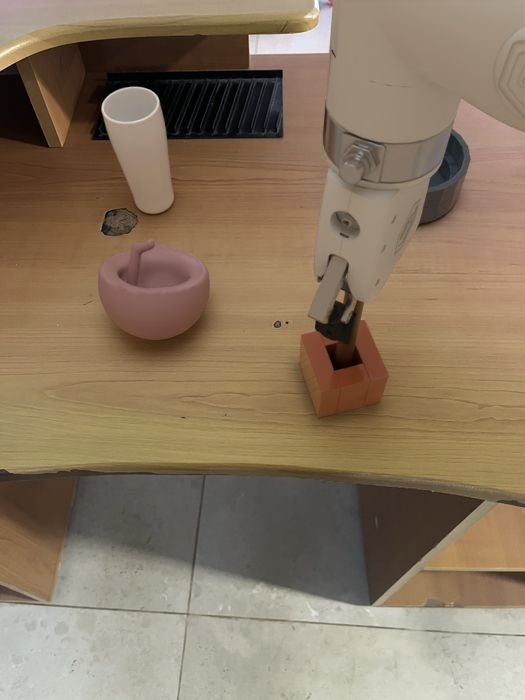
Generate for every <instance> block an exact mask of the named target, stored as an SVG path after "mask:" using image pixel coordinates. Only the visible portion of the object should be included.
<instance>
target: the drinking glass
mask: <svg viewBox="0 0 525 700" xmlns="http://www.w3.org/2000/svg"><path fill="white" fill-rule="evenodd" d="M101 113H102V119H103V121H104V125H105V130H106V132H107V136H108V138H109V141H110V144H111V146H112V149H113V151H114V154H115V156H116V159H117V161H118V163H119V166H120V168H121V171H122V173H123V175H124V177H125V180H126V182H127V184H128V187H129V190H130V192H131V194H132V198H133V201H134V204H135V206H136V208H137V209H138V210H139V211H141V212H143V213H145V214H149V215H157V214H161V213H163V212H165V211H167V210H168V209H169V208H170V207H171V206H172V205H173V204H174V201H175V193H174V188H173V183H172V174H171V163H170V153H169V144H168V137H167V136H168V135H167V128H166V122H165V117H164V114H163V110H162V106H161V102H160V99H159V96H158V95H157V94H156V93H155V92H154V91H152V90H151V89H148V88H145V87H142V86H129V87H123V88H119V89H117V90H115V91H113V92H111V93H110V94H108V95H107V96H106V98H105V99H104V100H103V102H102V104H101Z"/></svg>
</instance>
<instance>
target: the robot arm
mask: <svg viewBox="0 0 525 700" xmlns="http://www.w3.org/2000/svg"><path fill="white" fill-rule="evenodd" d="M331 10H332V11H331V19H330V20H331V23H330V32H329V33H330V34H329V35H330V36H329V49H328V60H327V76H326V87H325V101H324V113H323V128H322V140H321V151H322V155H323V158H324V161H325V162H326V164H327V165H328V169H327V172H326V176H325V177H326V178H325V182H324V187H323V192H322V198H321V203H320V209H319V214H318V220H317V226H316V233H315V242H314V250H313V275H314V278H315V280H316V282H317V283H319V286H318V288H317V290H316V293H315V296H314V298H313V300H312V303H311V304H310V307H309V309H308V312H307V318H310V319H311V320H314V329H315V331H318V332H320V333H321V334H322V335H323V336H324V337H326V338H328V339H330V340H332V341H340V342H342V343H344V344H349V343H350V341H351V340H352V336H353V331H354V326H355V321H356V317H357V314H356V313H355V312H354V308H355V305H356V303H357V300H359V301H361V302H364V304H368V303H370V302H373V301H374V300H375V299H376V298H377V297H378V295H380V293H381V292H382V290H383V288H384V287H385V285H386V283H387V281H388V280H389V278H390V277H391V275H392V273H393V271H394V270H395V268H396V267H397V265H398V263H399V261H400V260H401V258H402V256H403V254H404V253H405V251H406V249H407V247H408V245H409V244H410V242H411V241H412V238H413V236H414V235H415V233H416V231H417V228H418V226H419V225H420V224H419V221H420V218H421V214H422V210H423V206H424V202H425V198H426V193H427V189H428V185H429V181H430V177H431V176H432V175H434V174H435V173H436V172H437V170H438V169H439V167H440V166H441V163H442V160H443V157H444V154H445V151H446V147H447V144H448V141H449V137H450V134H451V131H452V129H453V127H454V124H455V122H456V121H455V120H456V118H457V113H458V110H459V106H460V103H461V100H462V101H464V102H466V103H468V104H469V105H471V106H473V107H474V108H476V109H477V110H479V111H480V112H482V113H484V114H486V115H487V116H489V117H490V118H492V119H494V120H496V121H498V122H500V123H502V124H504V125H506V126H507V127H510V128H513V129H515V130H517V131H520V132H521V133H525V0H332V7H331ZM340 291H343V292H344V293H345V292H347V293H349V296H348V299H347V302H346V304H343V302H341V301H339V300H337V298H338V296H339V294H340Z"/></svg>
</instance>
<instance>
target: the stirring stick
mask: <svg viewBox="0 0 525 700" xmlns="http://www.w3.org/2000/svg"><path fill="white" fill-rule="evenodd" d="M348 296H349V293H347V292H345V291H344V294H343V301H342V303H343V304H346V302H347V299H348ZM364 306H365V303H364V302H361V301H359V300H357V303H356V305H355V308H354V312H355V313H356V314H357V317H356V321H355V326H354V331H353V336H352V340H351V341H350V343H349V344H344V343H342V342H340V341H337V344H336V350H335V357H334V363H333V368H334V371H336V370H340V369H344V368H348V367H351V362H352V358H353V353H354V348H355V344H356V339H357V334H358V330H359V325H360V320H362V315H363V310H364Z"/></svg>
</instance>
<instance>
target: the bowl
mask: <svg viewBox="0 0 525 700" xmlns="http://www.w3.org/2000/svg"><path fill="white" fill-rule="evenodd" d="M471 160H472V159H471V152H470V148H469V145H468V143H467V142H466V141H465V139H464V137H463V136H462V135H461V134H460V133H459V132H458V131H456V130H455V129H453V128H452V131H451V134H450V137H449V141H448V144H447V147H446V151H445V154H444V157H443V160H442V163H441V166H440V167H439V169H438V170H437V172H436V173H435V174H434V175H432V176H431V177H430V181H429V185H428V189H427V193H426V198H425V202H424V206H423V210H422V214H421V218H420V221H419V224H418V225H420V224H425V223H429V222H433V221H435V220H437V219H439V218H440V217H442V216H444V215H447V214H448V213H449V211H451V209H452V208H453V207H454V206H455V205H456V203H457V201H458V199H459V196H460V193H461V190H462V187H463V185H464V182H465V179H466V176H467V173H468V170H469V167H470V164H471Z"/></svg>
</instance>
